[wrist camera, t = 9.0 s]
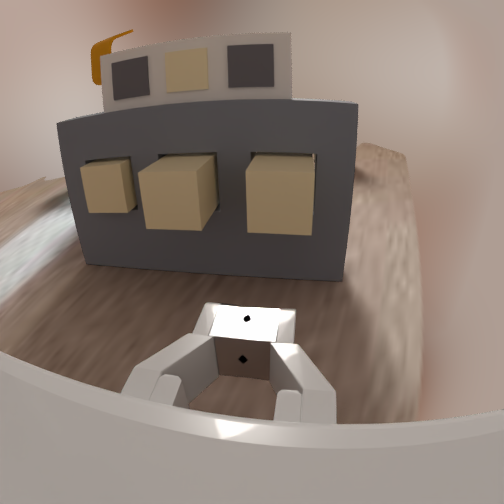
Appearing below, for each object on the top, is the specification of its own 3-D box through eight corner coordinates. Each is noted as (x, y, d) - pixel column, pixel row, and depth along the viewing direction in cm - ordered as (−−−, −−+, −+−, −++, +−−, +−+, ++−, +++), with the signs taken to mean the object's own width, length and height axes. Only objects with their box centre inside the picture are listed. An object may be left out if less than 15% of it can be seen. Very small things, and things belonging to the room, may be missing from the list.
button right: (247, 232, 21) (245, 170, 19) (260, 195, 27) (259, 147, 25) (311, 235, 20) (314, 173, 18) (309, 197, 26) (311, 149, 24)
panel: (86, 263, 29) (51, 69, 20) (100, 249, 32) (72, 67, 22) (341, 281, 26) (358, 34, 17) (338, 262, 29) (351, 39, 19)
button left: (88, 212, 25) (79, 167, 23) (126, 185, 31) (121, 147, 29) (127, 212, 24) (120, 164, 22) (161, 184, 30) (156, 144, 28)
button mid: (146, 228, 21) (137, 172, 20) (180, 194, 28) (175, 149, 26) (201, 230, 21) (196, 170, 19) (225, 194, 27) (222, 147, 25)
